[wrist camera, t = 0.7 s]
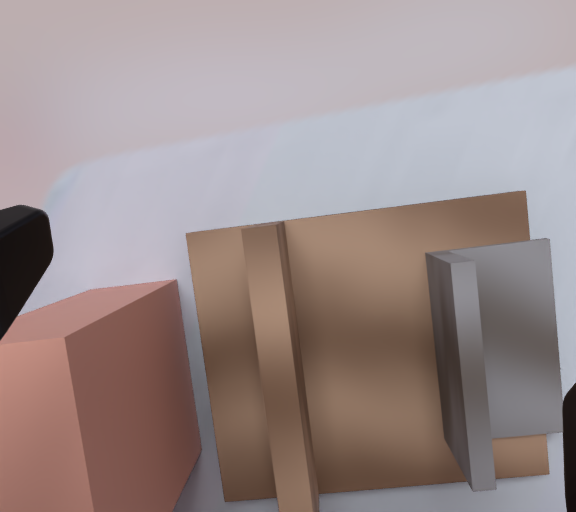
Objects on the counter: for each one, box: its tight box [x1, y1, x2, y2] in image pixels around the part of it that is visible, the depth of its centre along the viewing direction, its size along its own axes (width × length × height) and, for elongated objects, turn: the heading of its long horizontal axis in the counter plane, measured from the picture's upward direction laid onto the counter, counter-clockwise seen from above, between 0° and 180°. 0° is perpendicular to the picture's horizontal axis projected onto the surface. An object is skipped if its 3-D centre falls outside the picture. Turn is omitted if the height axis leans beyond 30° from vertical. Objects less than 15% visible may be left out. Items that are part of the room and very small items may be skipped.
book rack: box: [186, 191, 563, 512], centre depth 20 cm, size 12×15×5 cm
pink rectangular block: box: [0, 279, 202, 512], centre depth 18 cm, size 8×4×10 cm, turn 7°
